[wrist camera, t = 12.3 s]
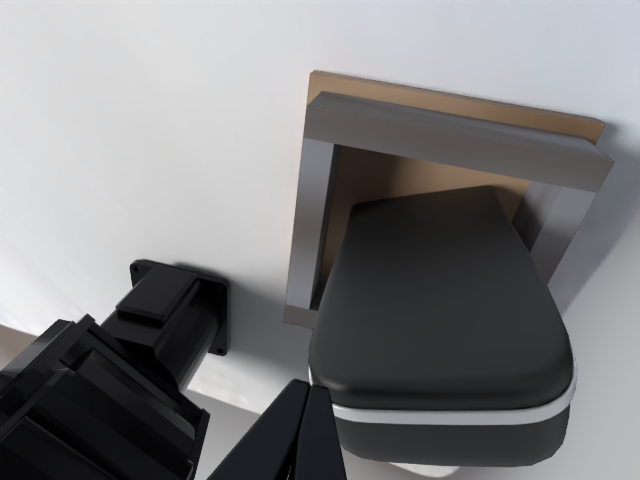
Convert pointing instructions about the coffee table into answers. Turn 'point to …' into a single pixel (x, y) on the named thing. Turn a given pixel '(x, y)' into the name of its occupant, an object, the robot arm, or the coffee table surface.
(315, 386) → the robot arm
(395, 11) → the coffee table surface
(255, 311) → the coffee table surface
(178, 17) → the coffee table surface
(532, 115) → the dock
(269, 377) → the coffee table surface
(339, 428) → the battery charger
